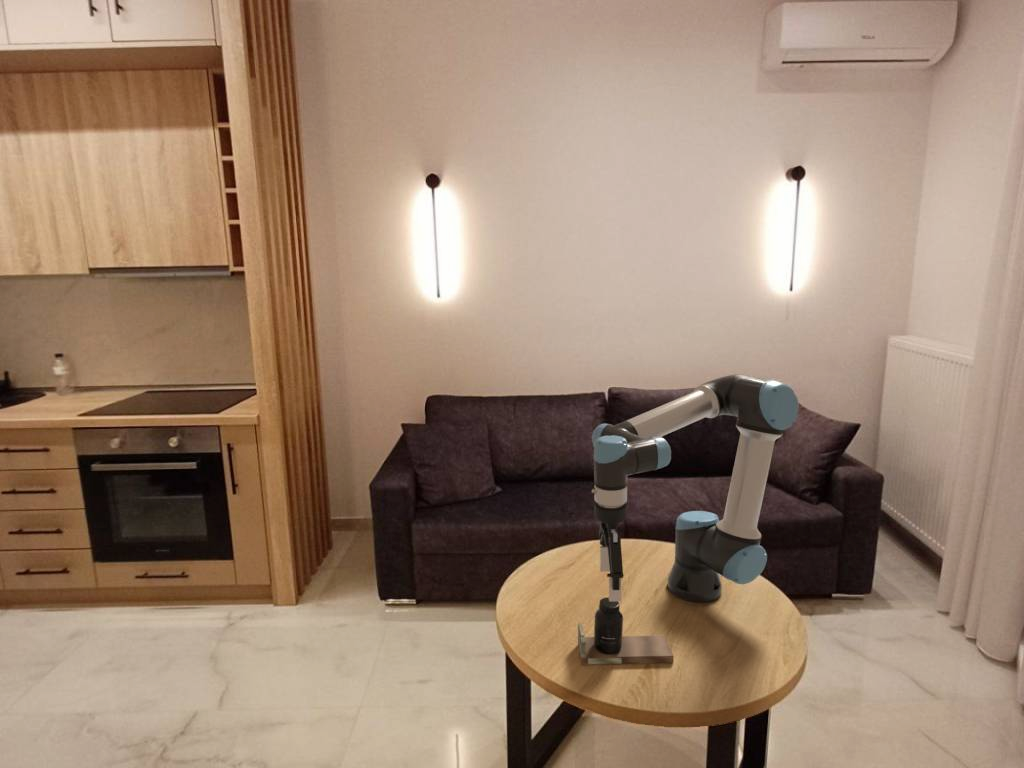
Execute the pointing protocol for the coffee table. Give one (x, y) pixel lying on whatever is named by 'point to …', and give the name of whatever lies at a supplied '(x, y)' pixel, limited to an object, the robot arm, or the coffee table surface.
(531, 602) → the coffee table surface
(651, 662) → the rail flange
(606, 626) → the supplement bottle
